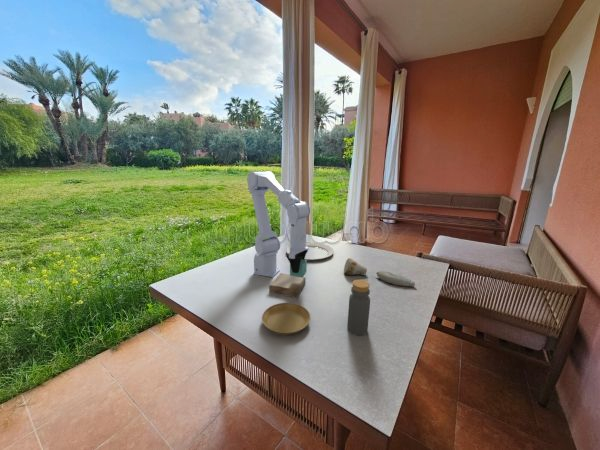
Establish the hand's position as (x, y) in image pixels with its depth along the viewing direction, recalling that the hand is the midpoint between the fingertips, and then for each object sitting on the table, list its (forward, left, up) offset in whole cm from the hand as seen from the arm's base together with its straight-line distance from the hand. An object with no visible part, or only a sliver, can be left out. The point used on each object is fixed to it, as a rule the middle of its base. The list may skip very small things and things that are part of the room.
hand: (297, 269), depth 93 cm
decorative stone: (+36, +19, -9) cm, 42 cm away
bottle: (+24, -17, -9) cm, 30 cm away
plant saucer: (+3, -21, -9) cm, 22 cm away
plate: (-6, +39, -9) cm, 40 cm away
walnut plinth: (-4, -1, -8) cm, 9 cm away
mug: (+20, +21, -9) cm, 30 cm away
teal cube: (0, 0, -2) cm, 2 cm away
